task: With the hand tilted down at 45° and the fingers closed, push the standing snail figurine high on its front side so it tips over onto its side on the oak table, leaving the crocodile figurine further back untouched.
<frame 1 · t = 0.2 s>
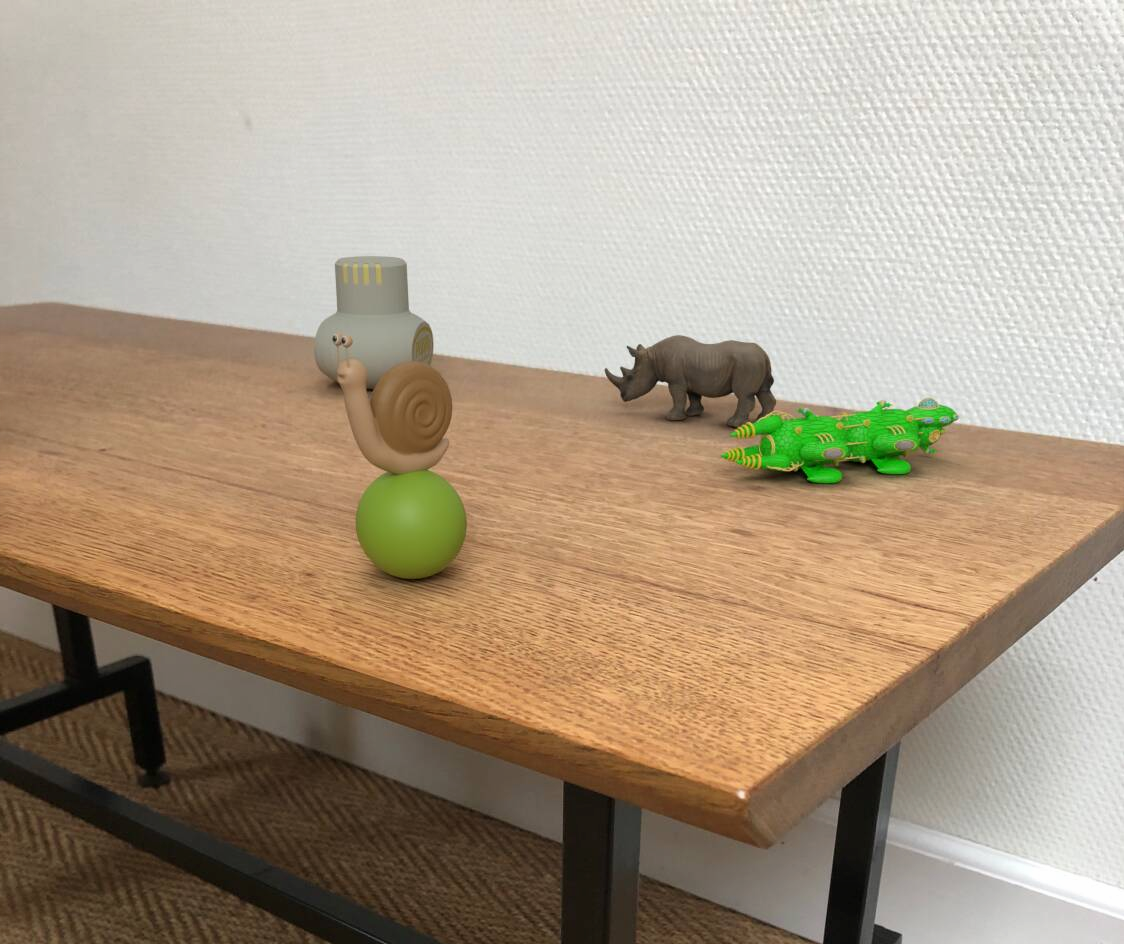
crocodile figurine: (841, 472, 84), on the table
rhino figurine: (686, 419, 98), on the table
air freshener: (377, 386, 108), on the table
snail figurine: (406, 582, 63), on the table
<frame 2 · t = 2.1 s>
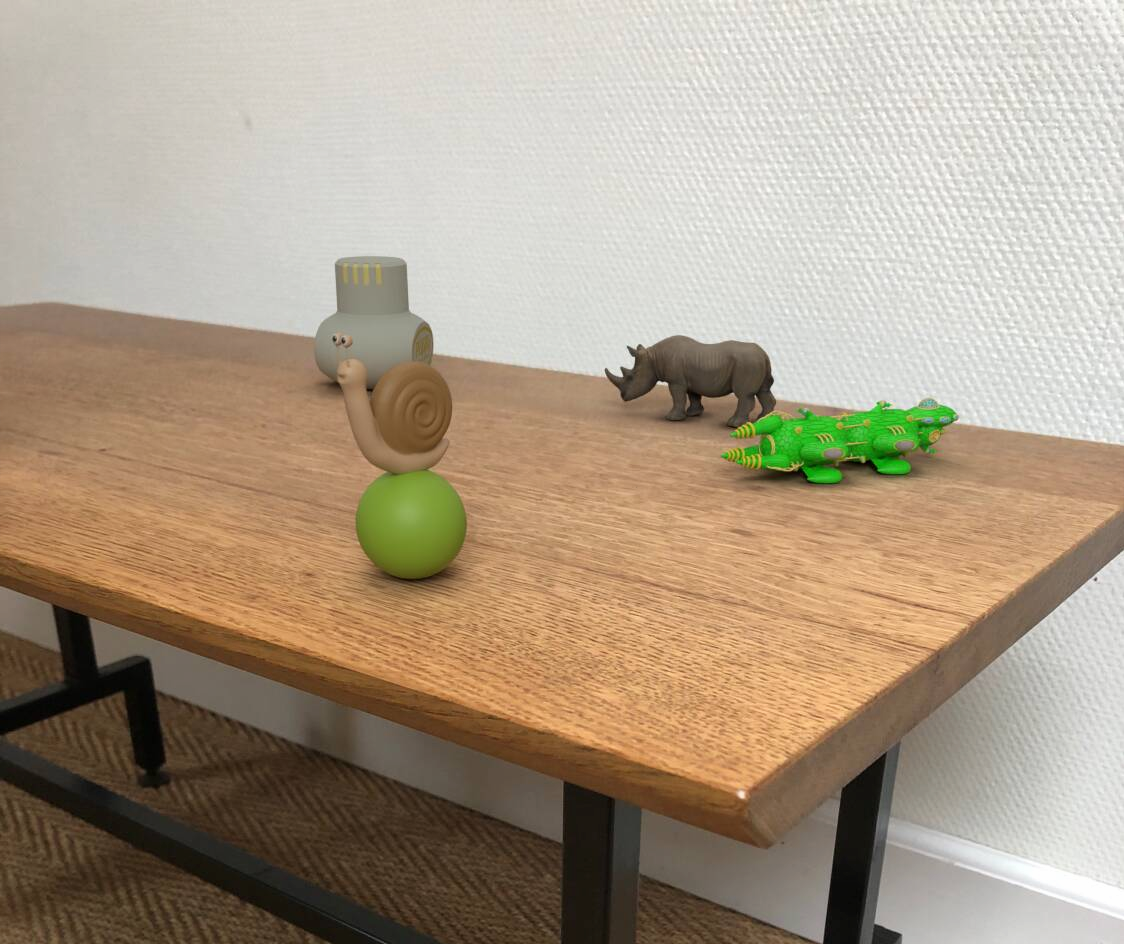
nothing on the table moved.
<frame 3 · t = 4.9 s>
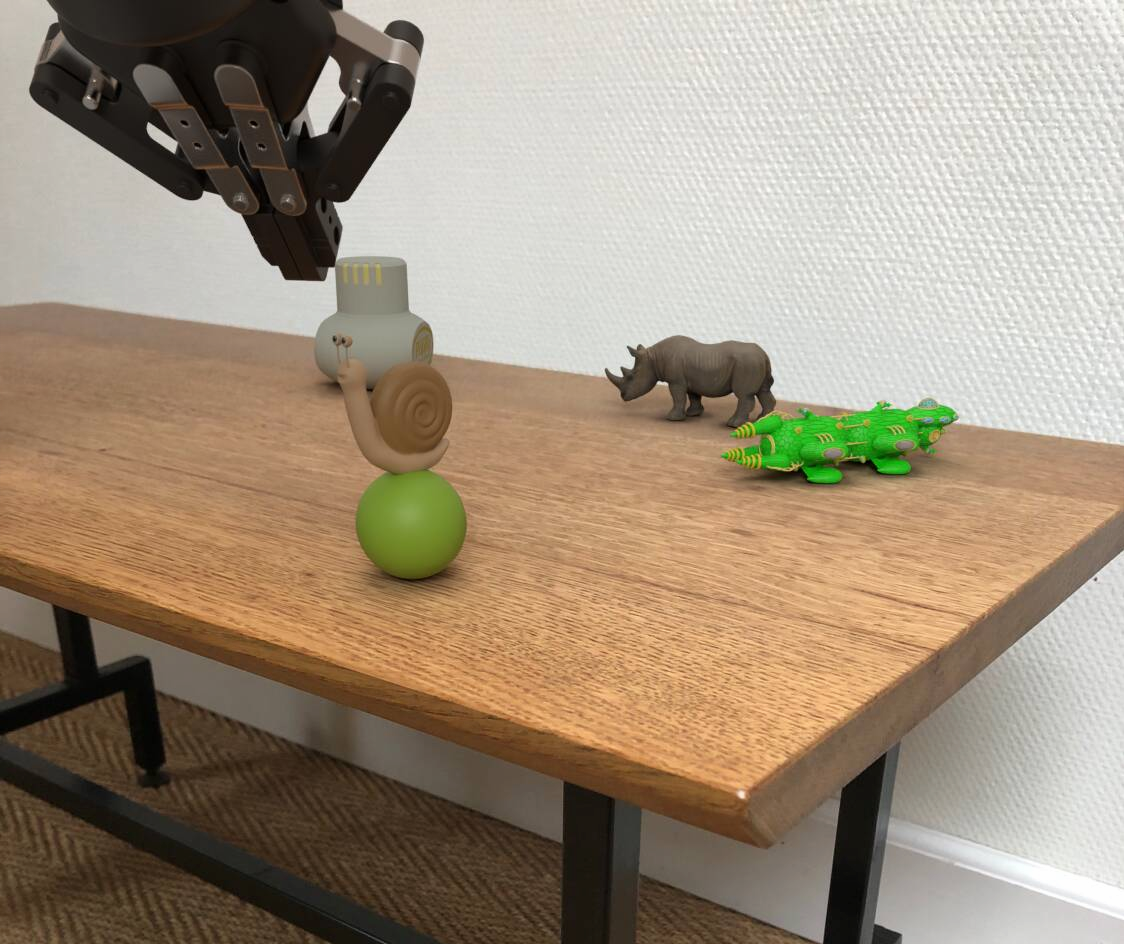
hand: (310, 261, 47), 16 cm above the table, tool tilted 45°, fingers closed
nothing on the table moved.
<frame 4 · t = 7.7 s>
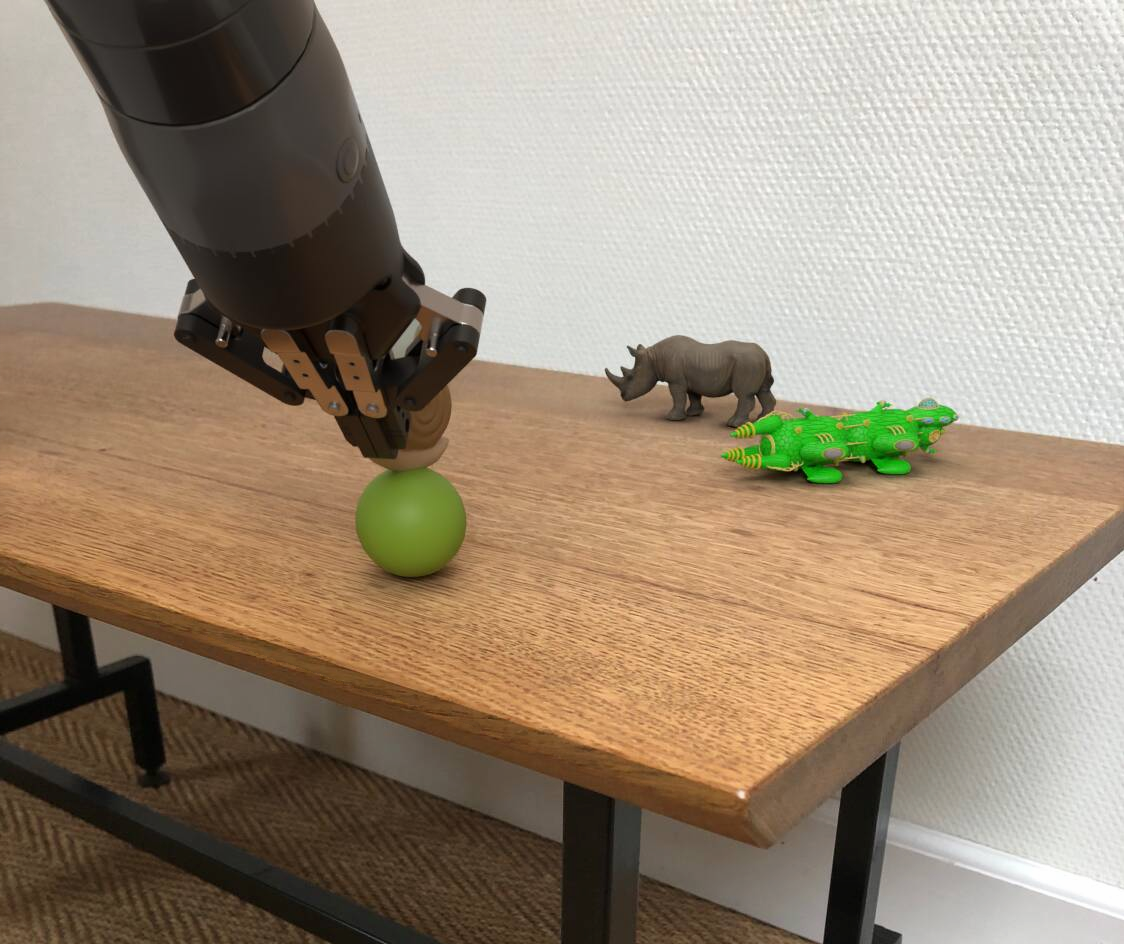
hand: (384, 441, 58), 7 cm above the table, tool tilted 45°, fingers closed
nothing on the table moved.
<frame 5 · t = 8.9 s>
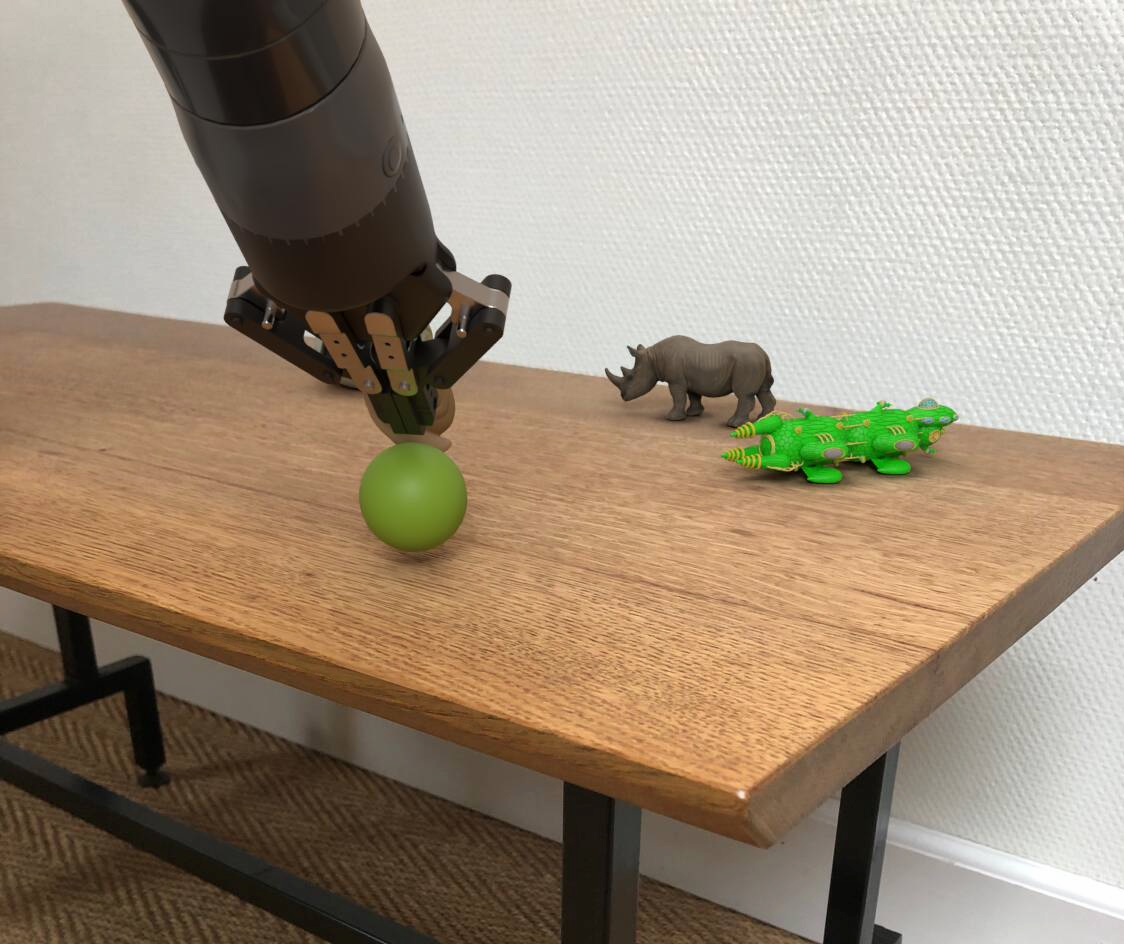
hand: (412, 418, 62), 7 cm above the table, tool tilted 45°, fingers closed
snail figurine: (405, 550, 63), point 1 cm above the table
everything else where it was.
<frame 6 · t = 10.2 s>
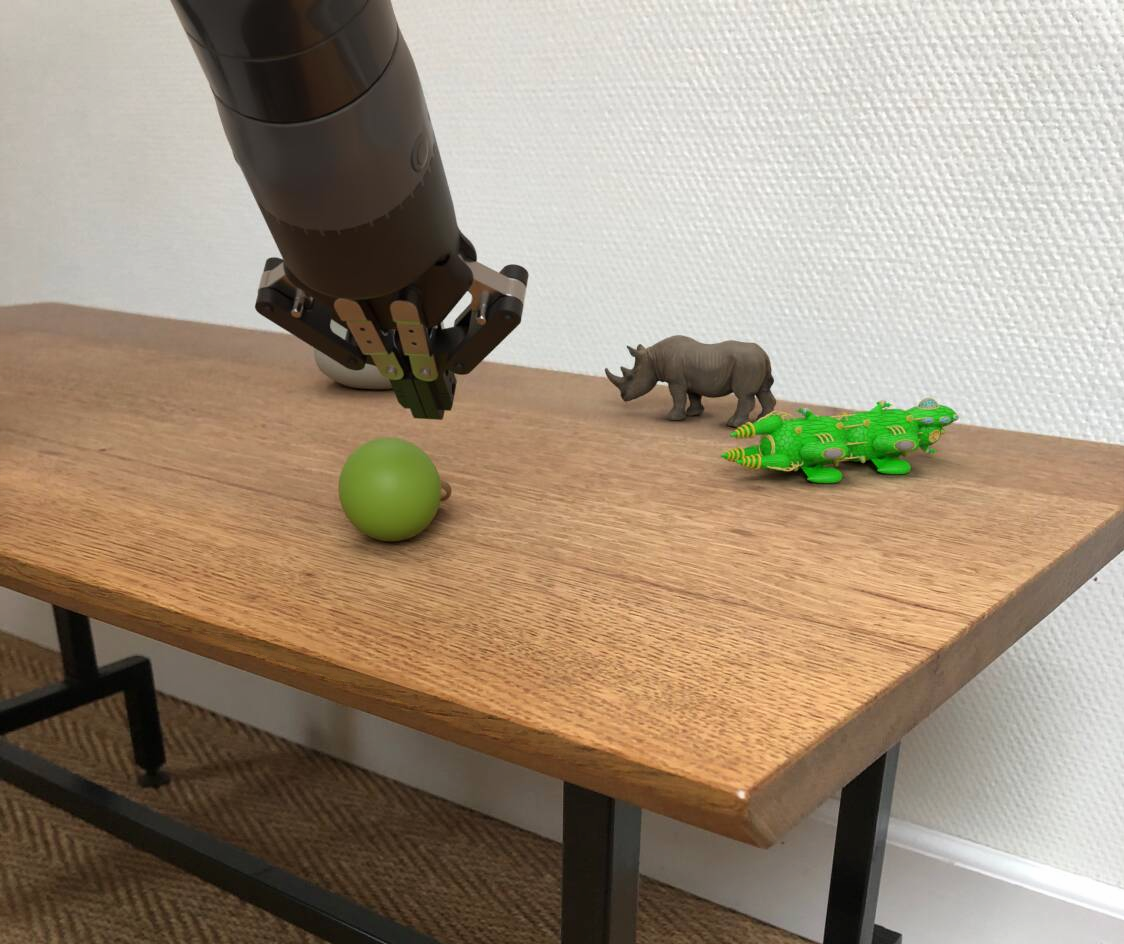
hand: (431, 404, 65), 7 cm above the table, tool tilted 45°, fingers closed
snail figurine: (370, 488, 64), point 4 cm above the table
everything else where it was.
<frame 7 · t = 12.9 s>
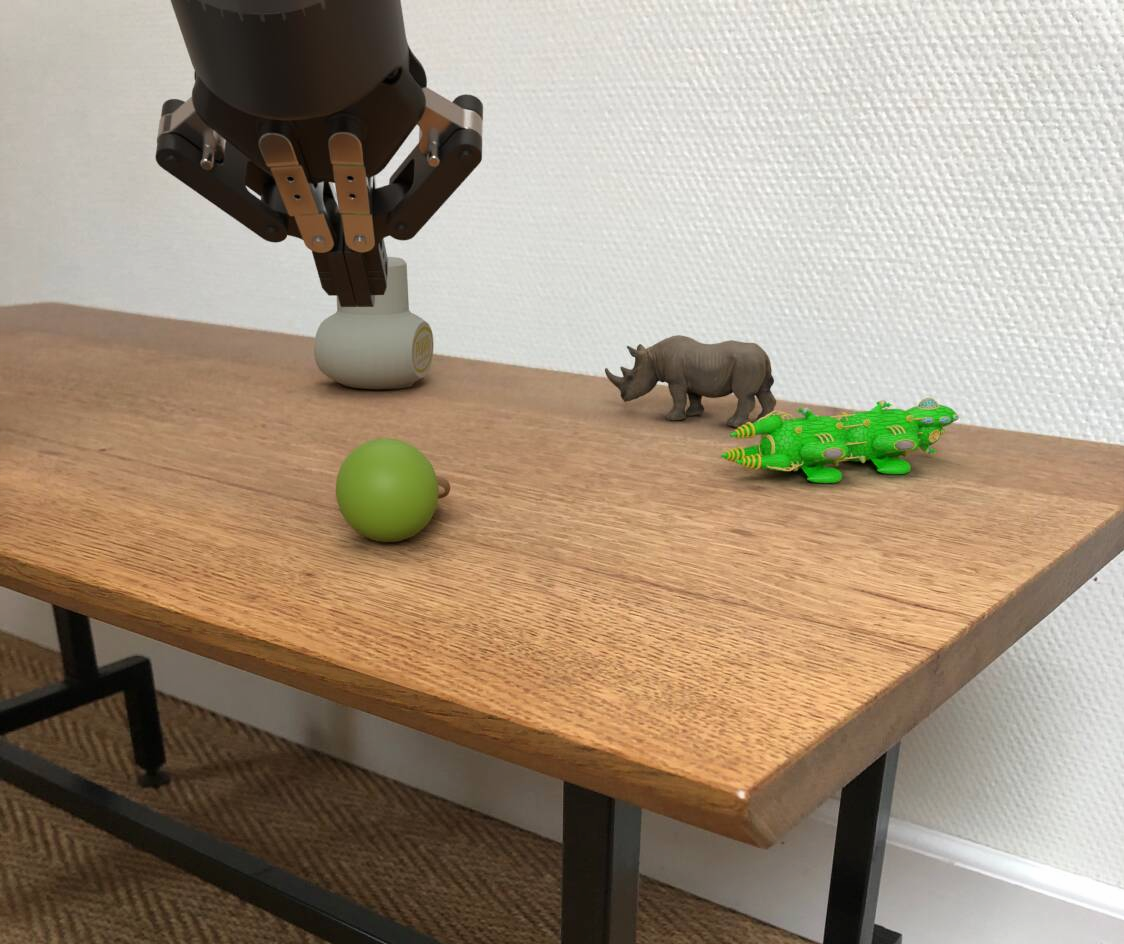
hand: (358, 291, 56), 14 cm above the table, tool tilted 45°, fingers closed
nothing on the table moved.
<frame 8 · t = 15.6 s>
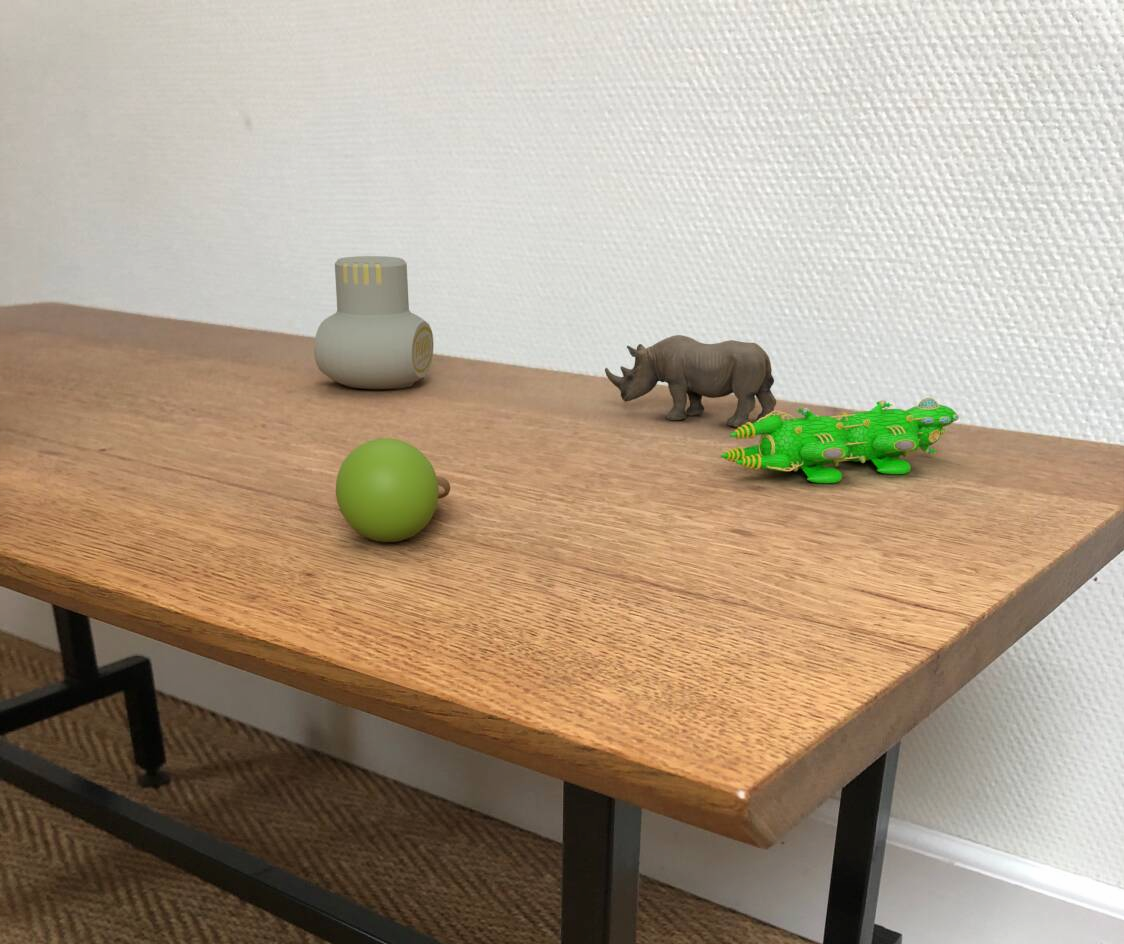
nothing on the table moved.
at the end: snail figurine tilted 104°; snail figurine touching table; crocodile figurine moved 0.2 cm from its start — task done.
